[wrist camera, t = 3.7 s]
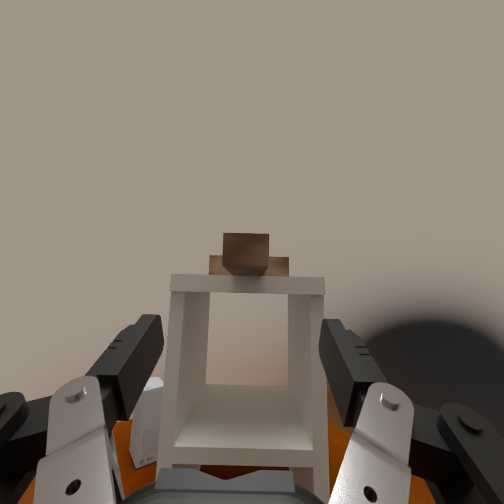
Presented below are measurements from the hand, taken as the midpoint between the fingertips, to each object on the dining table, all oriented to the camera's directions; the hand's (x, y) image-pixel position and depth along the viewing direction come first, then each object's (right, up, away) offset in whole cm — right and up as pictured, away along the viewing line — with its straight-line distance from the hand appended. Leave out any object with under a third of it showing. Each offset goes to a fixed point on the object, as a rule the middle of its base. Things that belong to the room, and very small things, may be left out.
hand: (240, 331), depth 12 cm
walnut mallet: (0, +1, +19) cm, 19 cm away
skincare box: (-19, -33, +30) cm, 48 cm away
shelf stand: (-1, -31, +19) cm, 36 cm away
